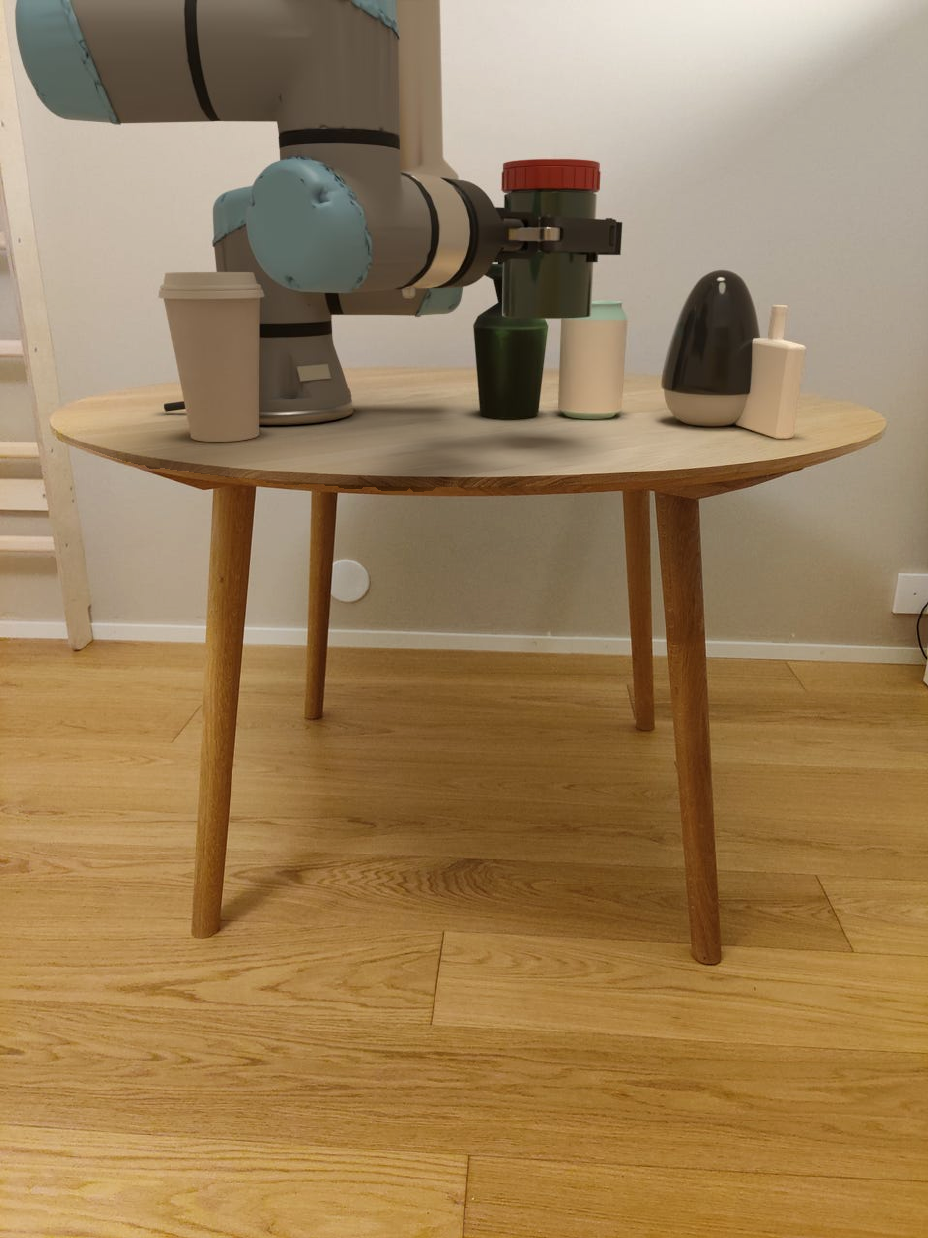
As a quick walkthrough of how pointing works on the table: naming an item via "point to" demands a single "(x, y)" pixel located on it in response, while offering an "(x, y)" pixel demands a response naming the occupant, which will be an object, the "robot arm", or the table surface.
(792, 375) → the perfume bottle
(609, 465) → the table surface
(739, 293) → the black and white egg
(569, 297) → the jar
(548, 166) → the lid
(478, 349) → the potion bottle
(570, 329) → the can
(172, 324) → the coffee cup
